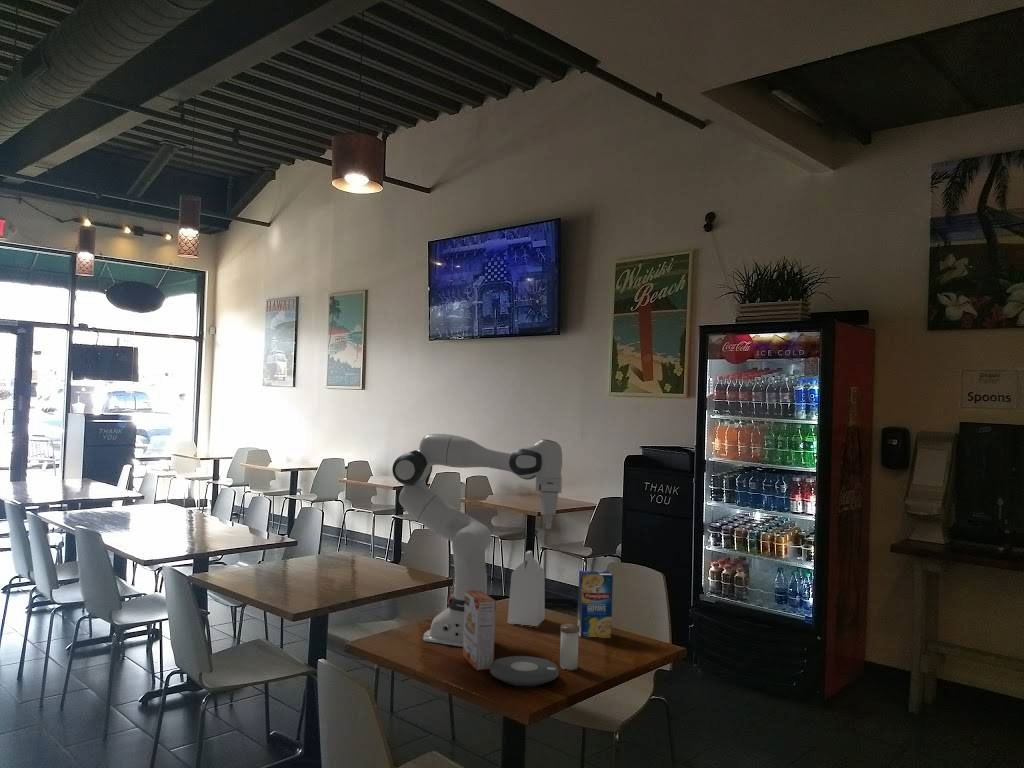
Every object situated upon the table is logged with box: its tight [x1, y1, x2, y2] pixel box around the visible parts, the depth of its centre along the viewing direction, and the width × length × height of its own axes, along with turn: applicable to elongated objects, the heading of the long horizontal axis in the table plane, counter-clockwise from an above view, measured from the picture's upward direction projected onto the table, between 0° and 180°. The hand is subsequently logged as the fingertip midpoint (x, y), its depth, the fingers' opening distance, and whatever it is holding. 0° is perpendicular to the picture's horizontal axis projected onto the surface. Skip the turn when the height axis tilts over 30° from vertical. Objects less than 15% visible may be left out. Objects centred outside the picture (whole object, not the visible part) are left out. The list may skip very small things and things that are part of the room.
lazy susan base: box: [502, 681, 545, 688], centre depth 222 cm, size 14×14×2 cm
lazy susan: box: [489, 655, 559, 684], centre depth 223 cm, size 20×20×2 cm
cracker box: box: [462, 590, 497, 671], centre depth 235 cm, size 14×6×21 cm, turn 21°
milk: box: [506, 550, 546, 627], centre depth 286 cm, size 12×12×26 cm
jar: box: [559, 623, 580, 671], centre depth 235 cm, size 6×6×12 cm
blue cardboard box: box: [577, 570, 614, 639], centre depth 271 cm, size 7×11×22 cm, turn 96°
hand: (547, 528), depth 255 cm, fingers open, 8 cm apart
